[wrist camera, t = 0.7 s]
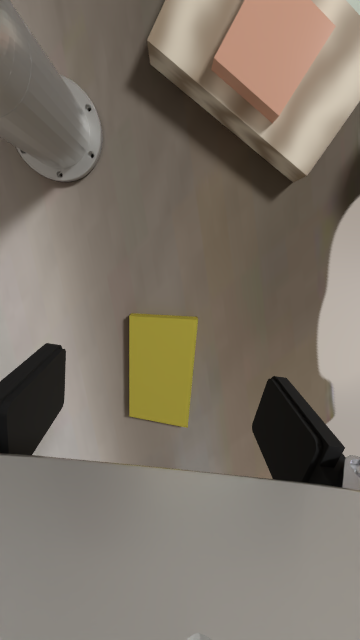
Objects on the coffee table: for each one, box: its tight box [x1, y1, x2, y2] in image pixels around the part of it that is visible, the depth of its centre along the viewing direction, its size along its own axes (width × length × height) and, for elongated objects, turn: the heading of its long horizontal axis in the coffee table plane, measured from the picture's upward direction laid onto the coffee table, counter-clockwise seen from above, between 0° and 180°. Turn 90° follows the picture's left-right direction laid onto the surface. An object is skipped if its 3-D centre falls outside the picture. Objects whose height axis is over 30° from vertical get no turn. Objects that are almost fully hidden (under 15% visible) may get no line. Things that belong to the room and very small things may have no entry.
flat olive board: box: [129, 313, 198, 428], centre depth 46 cm, size 12×2×24 cm
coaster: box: [211, 0, 336, 123], centre depth 28 cm, size 10×10×2 cm
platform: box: [147, 0, 360, 182], centre depth 31 cm, size 26×16×4 cm, turn 57°
